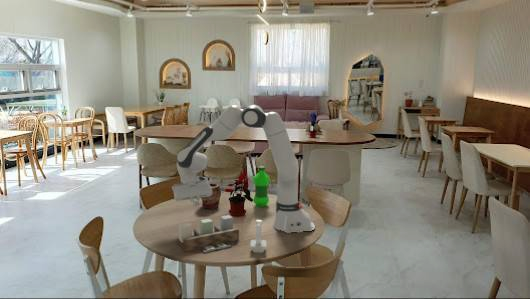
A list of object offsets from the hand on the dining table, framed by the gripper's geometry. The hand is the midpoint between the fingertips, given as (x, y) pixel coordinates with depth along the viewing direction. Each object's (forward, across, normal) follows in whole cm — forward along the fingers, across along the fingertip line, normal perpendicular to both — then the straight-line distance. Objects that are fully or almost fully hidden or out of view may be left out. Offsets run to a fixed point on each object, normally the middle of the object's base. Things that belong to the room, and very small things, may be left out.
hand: (196, 205), depth 208 cm
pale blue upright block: (+18, +11, -1) cm, 21 cm away
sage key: (+18, 0, -1) cm, 18 cm away
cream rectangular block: (+18, -11, -1) cm, 21 cm away
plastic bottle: (-3, +49, +23) cm, 55 cm away
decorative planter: (-13, +22, +33) cm, 41 cm away
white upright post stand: (+36, +17, -16) cm, 42 cm away
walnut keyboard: (+23, 0, -3) cm, 23 cm away
